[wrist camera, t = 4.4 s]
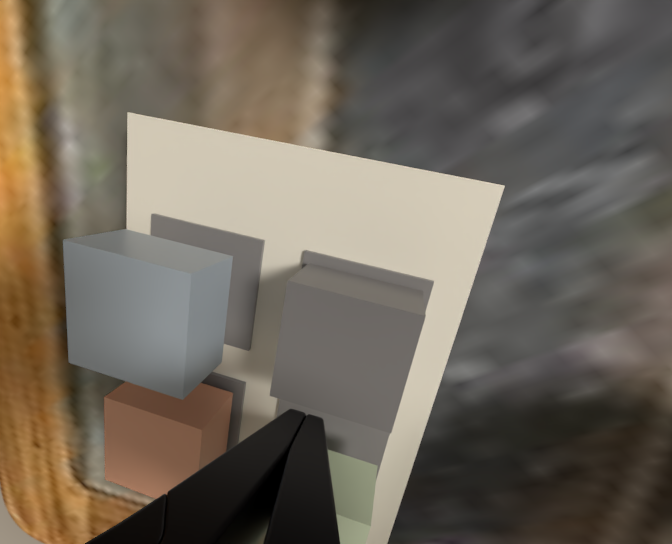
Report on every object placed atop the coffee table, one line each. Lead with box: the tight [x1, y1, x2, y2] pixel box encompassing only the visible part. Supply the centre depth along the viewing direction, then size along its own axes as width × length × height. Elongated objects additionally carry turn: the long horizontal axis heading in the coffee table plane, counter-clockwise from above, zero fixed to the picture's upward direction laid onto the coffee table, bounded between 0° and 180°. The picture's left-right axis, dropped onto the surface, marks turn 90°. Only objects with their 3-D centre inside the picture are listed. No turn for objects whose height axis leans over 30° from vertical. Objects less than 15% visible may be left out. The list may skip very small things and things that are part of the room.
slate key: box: [63, 229, 233, 400], centre depth 12 cm, size 4×4×2 cm
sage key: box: [328, 450, 378, 544], centre depth 13 cm, size 4×4×2 cm
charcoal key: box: [270, 263, 426, 433], centre depth 13 cm, size 4×4×2 cm
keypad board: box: [125, 112, 505, 544], centre depth 17 cm, size 15×20×2 cm
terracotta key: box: [104, 382, 233, 499], centre depth 16 cm, size 4×4×2 cm
